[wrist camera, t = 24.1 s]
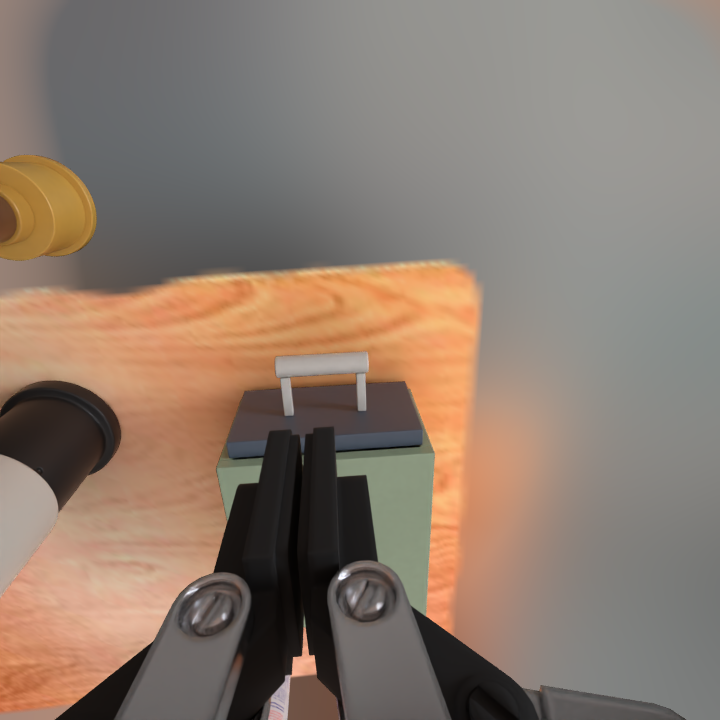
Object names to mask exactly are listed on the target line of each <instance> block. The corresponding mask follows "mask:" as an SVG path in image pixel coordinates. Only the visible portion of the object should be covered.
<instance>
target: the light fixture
mask: <svg viewBox="0 0 720 720" xmlns="http://www.w3.org/2000/svg"><path fill="white" fill-rule="evenodd" d="M120 440H121V430H120V425H119V422H118V420H117V418H116V416H115V414H114V412H113V411H112V410H111V408H110V407H109V406H108V405H107V404H106V403H105V402H104V401H103V400H102V399H101V398H100V397H98V396H97V395H95V394H94V393H92V392H91V391H89V390H87V389H85V388H83V387H80V386H78V385H75V384H71V383H67V382H61V381H43V382H38V383H34V384H31V385H29V386H27V387H25V388H23V389H22V390H20V391H19V392H17V393H16V394H15V395H13V396H12V397H11V398H10V399H9V400H8V401H7V402H6V403H5V404H4V406H3V407H2V409H1V412H0V598H1V596H2V595H3V594H4V593H5V591H6V590H7V589H8V587H9V586H10V585H11V583H12V582H13V581H14V579H15V578H16V577H17V575H18V574H19V573H20V571H21V570H22V569H23V567H24V566H25V565H26V563H27V562H28V561H29V559H30V558H31V557H32V555H33V554H34V553H35V551H36V550H37V549H38V547H39V546H40V545H41V544H42V542H43V541H44V540H45V538H46V537H47V536H48V534H49V533H50V532H51V530H52V529H53V527H54V526H55V523H56V521H57V518H58V513H59V512H60V510H61V509H62V508H63V506H64V505H65V504H66V502H67V501H68V500H69V499H70V497H71V496H72V495H73V493H74V492H75V491H76V490H77V488H78V487H79V486H80V484H81V483H82V482H83V480H84V479H85V478H86V477H87V475H91V474H93V473H95V472H97V471H99V470H100V469H102V468H103V467H104V466H105V465H107V463H108V462H109V461H110V460H111V458H112V457H113V456H114V454H115V453H116V451H117V449H118V447H119V444H120Z"/></svg>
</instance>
